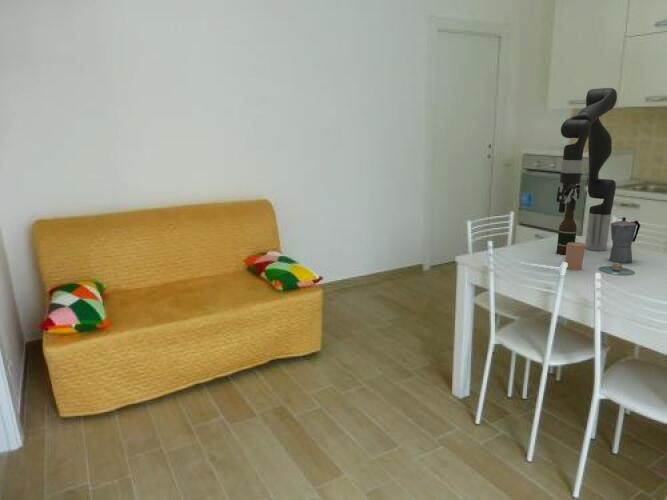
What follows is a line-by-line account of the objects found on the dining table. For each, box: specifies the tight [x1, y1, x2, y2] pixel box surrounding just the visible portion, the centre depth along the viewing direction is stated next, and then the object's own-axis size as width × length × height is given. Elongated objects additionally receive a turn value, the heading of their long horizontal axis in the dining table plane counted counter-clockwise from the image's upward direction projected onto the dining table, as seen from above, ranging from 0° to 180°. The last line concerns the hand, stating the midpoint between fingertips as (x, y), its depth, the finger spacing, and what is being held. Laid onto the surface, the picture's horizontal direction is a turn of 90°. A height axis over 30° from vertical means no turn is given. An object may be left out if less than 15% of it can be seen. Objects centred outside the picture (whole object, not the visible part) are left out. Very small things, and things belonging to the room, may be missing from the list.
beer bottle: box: [556, 201, 578, 256], centre depth 225 cm, size 8×8×24 cm
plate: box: [598, 265, 636, 277], centre depth 200 cm, size 13×13×1 cm
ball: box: [611, 262, 623, 271], centre depth 199 cm, size 3×3×3 cm
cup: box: [564, 241, 585, 271], centre depth 203 cm, size 6×6×11 cm
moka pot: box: [608, 216, 641, 265], centre depth 211 cm, size 10×15×20 cm, turn 111°
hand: (566, 211), depth 201 cm, fingers open, 8 cm apart
